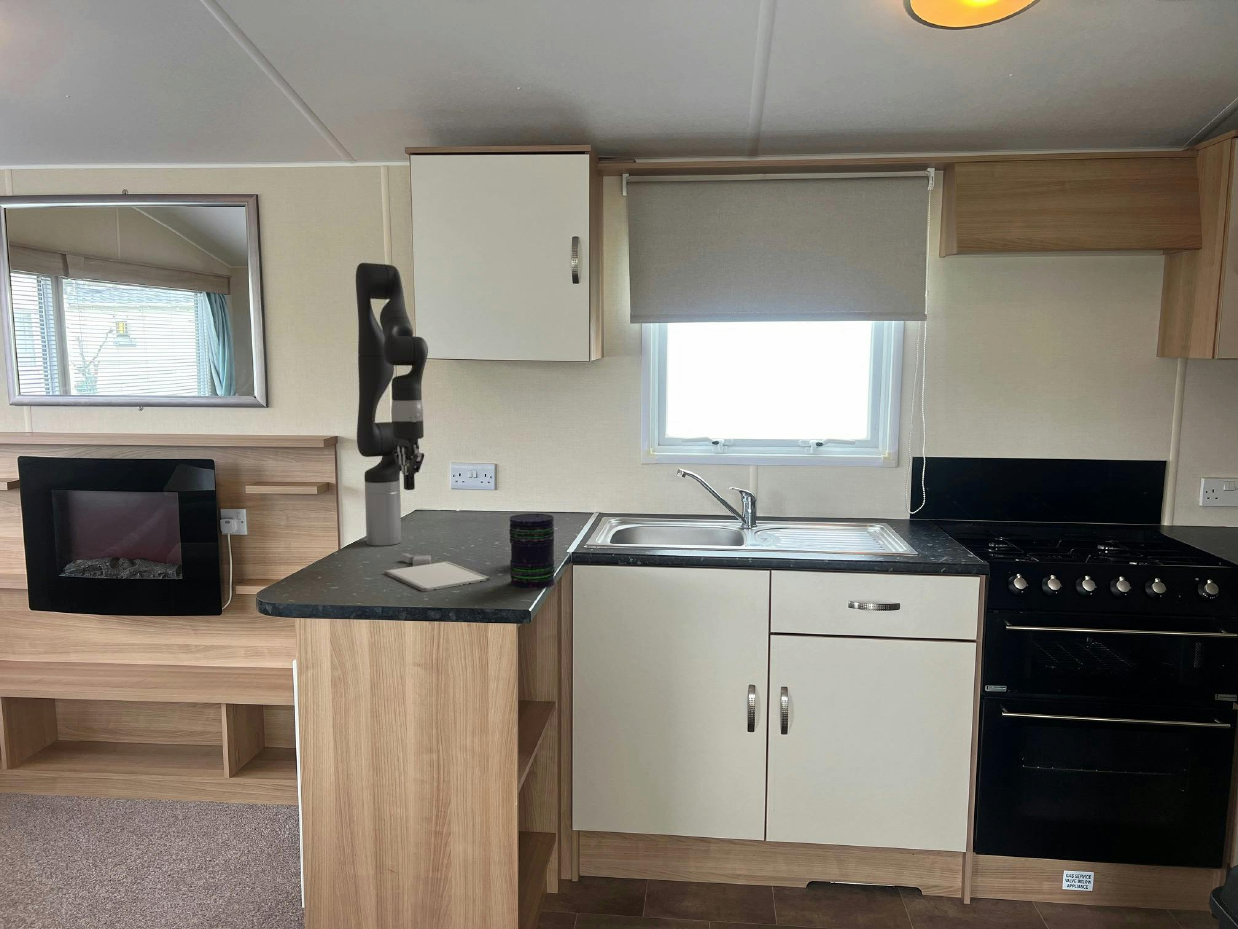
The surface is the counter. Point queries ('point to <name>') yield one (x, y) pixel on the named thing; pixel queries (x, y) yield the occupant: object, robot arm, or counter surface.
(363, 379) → the robot arm
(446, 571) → the mat
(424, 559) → the lighter
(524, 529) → the storage jar
